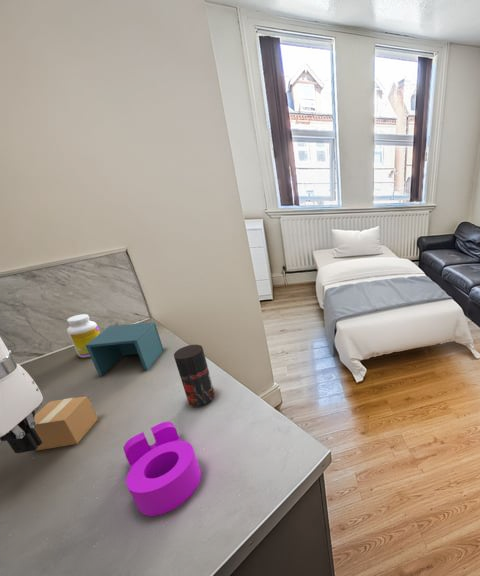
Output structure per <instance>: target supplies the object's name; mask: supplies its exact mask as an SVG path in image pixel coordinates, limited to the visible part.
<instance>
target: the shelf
mask: <svg viewBox="0 0 480 576" xmlns="http://www.w3.org/2000/svg"><path fill="white" fill-rule="evenodd" d="M86 348H87V350H88V352H89V354H90V357H89V358H90V359H91V361H92V363H93V365H94V367H95V370H96V372H97V375H98V377H103V376H104V375H105V374H106V373H107V372H108V371H109V370H110V369H111V368H112V367H113V366H114V365H115V363H117V362H118V361H119V360H120V359H121V357H123V356H131V355H138V356H139V360H140V362H141V364H142V368H143V370H144V371H148V370H149V369H150V368H151V367H152V365H153V364H154V363H155V362H156V361H157V359H158V358H159V356H160V355H161V354H162V353H163V351H164V347H163V342H162V341H161V338H160V335H159V332H158V328H157V325H156V323H155V321H150V322H140V323H129V324H117V325H109V326H108V327H106V328H105V329H104V330H102V331H100V334H99V335H98V336H96V337H95V338H94V339H93V340H91V341H90V342H89V343H88V344H86Z"/></svg>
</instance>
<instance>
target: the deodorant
mask: <svg viewBox="0 0 480 576" xmlns="http://www.w3.org/2000/svg"><path fill="white" fill-rule="evenodd" d="M173 358H174V361H175V363H176V364H175V365H176V368H177V370H178V374H179V377H180V381H181V383H182V386H183V390H184V393H185V396H186V399H187V403H188V405H189V407H191V408H196V409H197V408H198V409H199V408H202V407H205V406H207V405H209V404H210V403H211V402H213V400H214V399H215V397H216V393H215V388H214V385H213V382H212V378H211V374H210V371H209V366H208V362H207V359H206V355H205V352H204V348H203V346H202V345H201V344H189V345H185V346H183V347H180V348H179V349H177V350H175V352H174V353H173Z"/></svg>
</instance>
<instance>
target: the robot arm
mask: <svg viewBox="0 0 480 576" xmlns="http://www.w3.org/2000/svg"><path fill="white" fill-rule="evenodd" d="M12 354H13V352H12V351H11V350H10V349H8V347H7V345H6V344H5V342H4V341H3V339H2V337H1V336H0V444H2V442H7V443H8V444H9V446H10V448H11V450H12V451H13V452H14V453H15V454H21V453H28V452H35V451H37V448H38V446H40V445H41V444H42V441H41V439H40V437H39V436H38V434H37V432H36V431H35V429H33V428H34V427H35V425H36V422H35V420H34V416H35V414H36V413H37V412H38V411H39V410H40V409H39V408H41V406H42V404H43V401H44V397H43V394H42V391H41V390H40V388H39V386H38V385H37V383H36V381H35V380H34V379H33V378H32V376H31V375H30V374H29V373H28V372H27V370H25V369H24V368H23V367H22V366H21V365H20V364H19V363H16V361H15V359H14V357H13V356H12Z"/></svg>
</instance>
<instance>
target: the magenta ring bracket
mask: <svg viewBox="0 0 480 576" xmlns="http://www.w3.org/2000/svg"><path fill="white" fill-rule="evenodd" d="M150 431H151V433H152V436H153V438H154V440H155V442H154V443H153V444H151V445H150V444H149V442H148V440H147V437H146V435H145V432H144V431H141V432H140V433H138V434H136V435H134V436H132V437H130V438H129V439H127V441H126V442H125V443H124V445H123V453H124V456H125V458H126V461H127V462H128V465H129V468H130V469H129V471H128V473H127V475H126V480H125V483H126V484H125V485H126V487H127V490H128V491H129V493H130V495H131V497H132V500H133V501H134V503H135V505H136V507H137V509H138V511H139V512H140V513H141V514H142V515H144V516H148V517H156V516H160V515H164V514H167V513H169V512H171V511H173V510H175V509H176V508H178V507H179V506H181V505H182V504H184V502H186V501H187V500H188V499H189V498H190V497H191V496H192V495H193V494H194V492H195V491H196V489H197V488H198V486H199V484H200V483H201V478H202V471H201V468H200V464H199V462H198V458H197V456H196V453H195V450H194V447H193V446H192V444H191V443H190V442H188V441H186V440H181V438H180V436H179V434H178V430H177V429H176V427H175V425H174V423H173V422H171V421H162V422H159V423H158V424H156V425H154V426H152V427H150Z"/></svg>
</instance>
